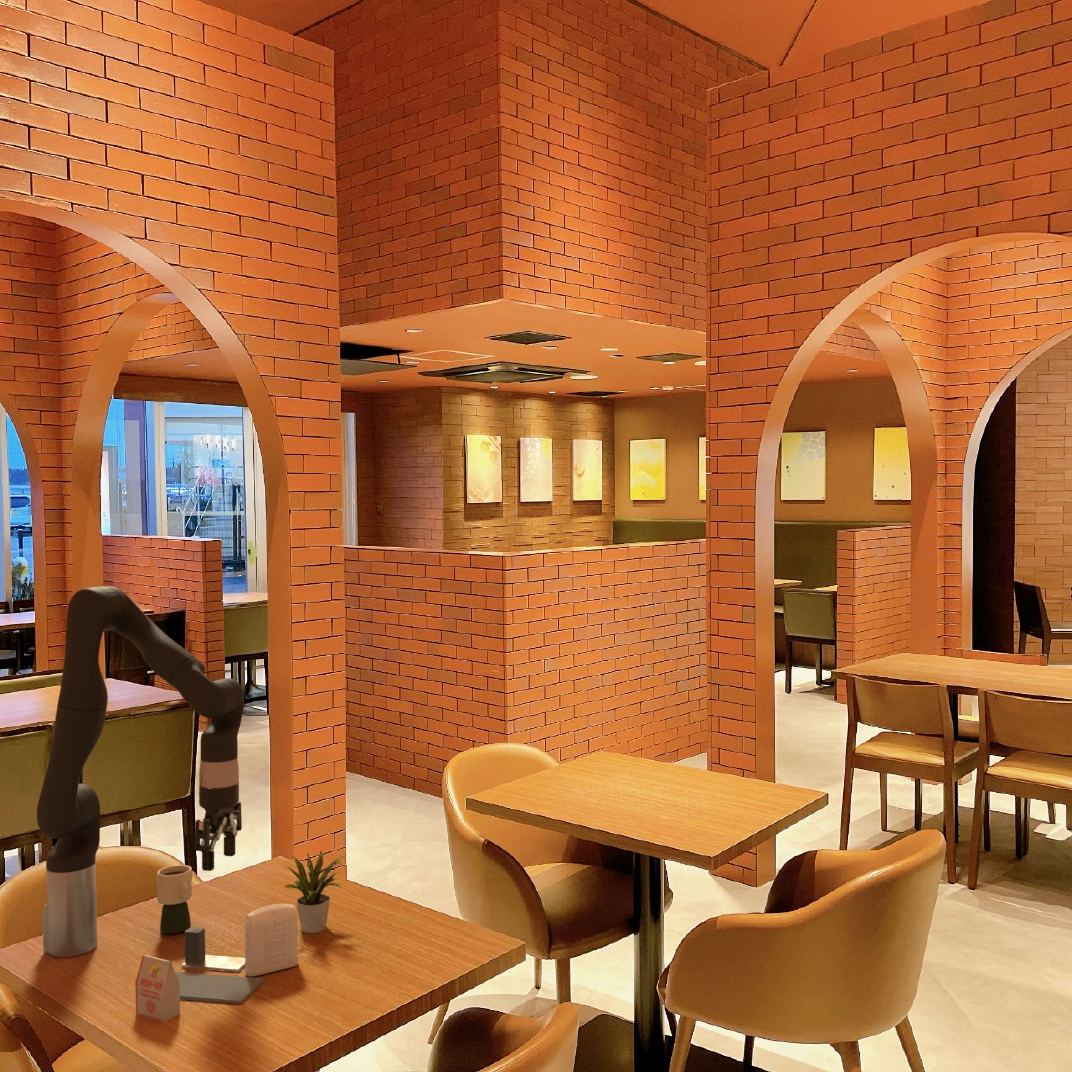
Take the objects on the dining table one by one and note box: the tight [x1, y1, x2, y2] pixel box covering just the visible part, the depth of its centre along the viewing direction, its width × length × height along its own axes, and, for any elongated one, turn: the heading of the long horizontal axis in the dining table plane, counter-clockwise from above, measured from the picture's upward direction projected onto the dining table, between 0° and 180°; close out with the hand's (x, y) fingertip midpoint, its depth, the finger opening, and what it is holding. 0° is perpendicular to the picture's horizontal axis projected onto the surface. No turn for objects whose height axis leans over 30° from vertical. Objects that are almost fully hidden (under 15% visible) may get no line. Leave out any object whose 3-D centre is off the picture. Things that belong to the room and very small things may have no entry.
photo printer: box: [244, 903, 299, 978], centre depth 197 cm, size 10×4×12 cm, turn 123°
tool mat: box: [175, 971, 265, 1005], centre depth 188 cm, size 18×9×1 cm, turn 79°
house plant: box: [282, 850, 346, 934], centre depth 215 cm, size 14×14×16 cm
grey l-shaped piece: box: [181, 926, 245, 973], centre depth 199 cm, size 12×5×7 cm, turn 79°
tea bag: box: [135, 954, 181, 1023], centre depth 179 cm, size 4×7×10 cm, turn 63°
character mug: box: [156, 864, 193, 934], centre depth 216 cm, size 11×7×13 cm, turn 45°
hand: (218, 862), depth 199 cm, fingers open, 8 cm apart
